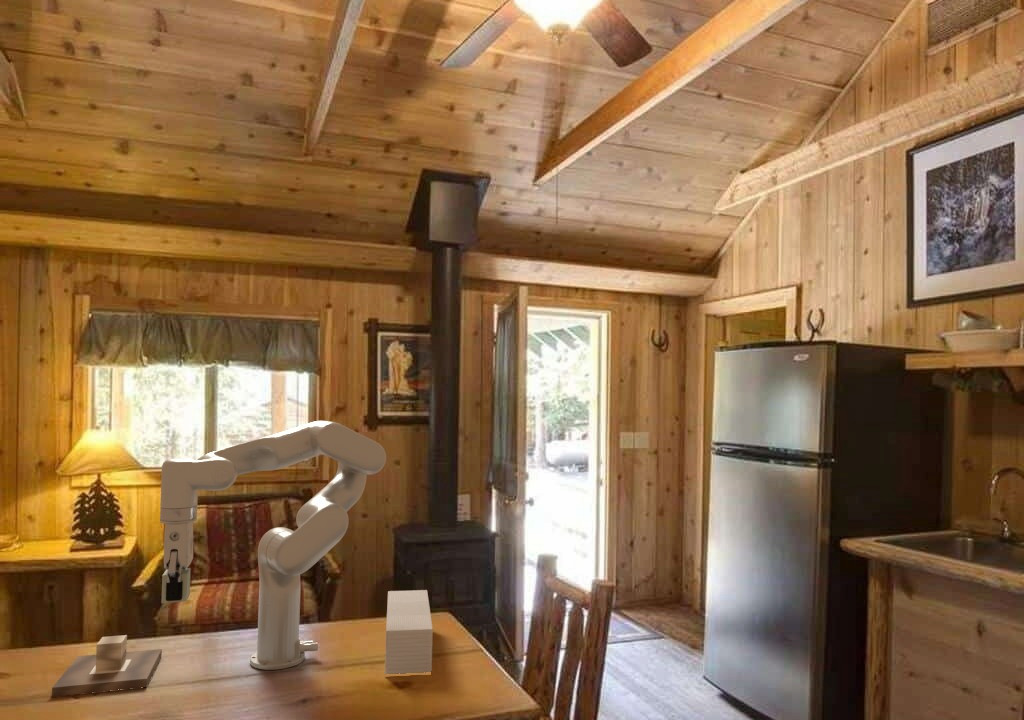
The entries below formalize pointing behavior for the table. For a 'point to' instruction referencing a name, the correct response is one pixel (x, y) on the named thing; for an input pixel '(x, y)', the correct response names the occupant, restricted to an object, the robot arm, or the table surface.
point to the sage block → (186, 585)
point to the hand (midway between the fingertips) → (176, 595)
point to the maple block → (111, 653)
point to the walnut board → (107, 674)
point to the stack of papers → (408, 633)
